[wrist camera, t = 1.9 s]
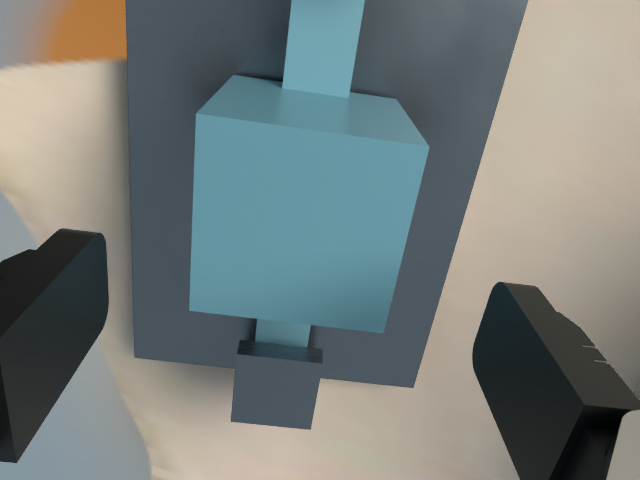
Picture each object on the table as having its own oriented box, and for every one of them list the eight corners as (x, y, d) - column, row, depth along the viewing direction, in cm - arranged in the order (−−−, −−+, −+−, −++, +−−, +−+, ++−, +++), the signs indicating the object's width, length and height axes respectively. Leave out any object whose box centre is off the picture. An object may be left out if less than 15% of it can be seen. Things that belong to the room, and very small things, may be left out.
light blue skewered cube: (246, -135, 13) (207, -204, 9) (437, -102, 14) (502, -149, 9) (215, 344, 20) (184, 454, 16) (342, 358, 21) (349, 470, 16)
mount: (135, -210, 14) (14, -340, 8) (552, -134, 15) (693, -206, 9) (143, 339, 22) (85, 455, 17) (408, 369, 23) (437, 489, 18)
